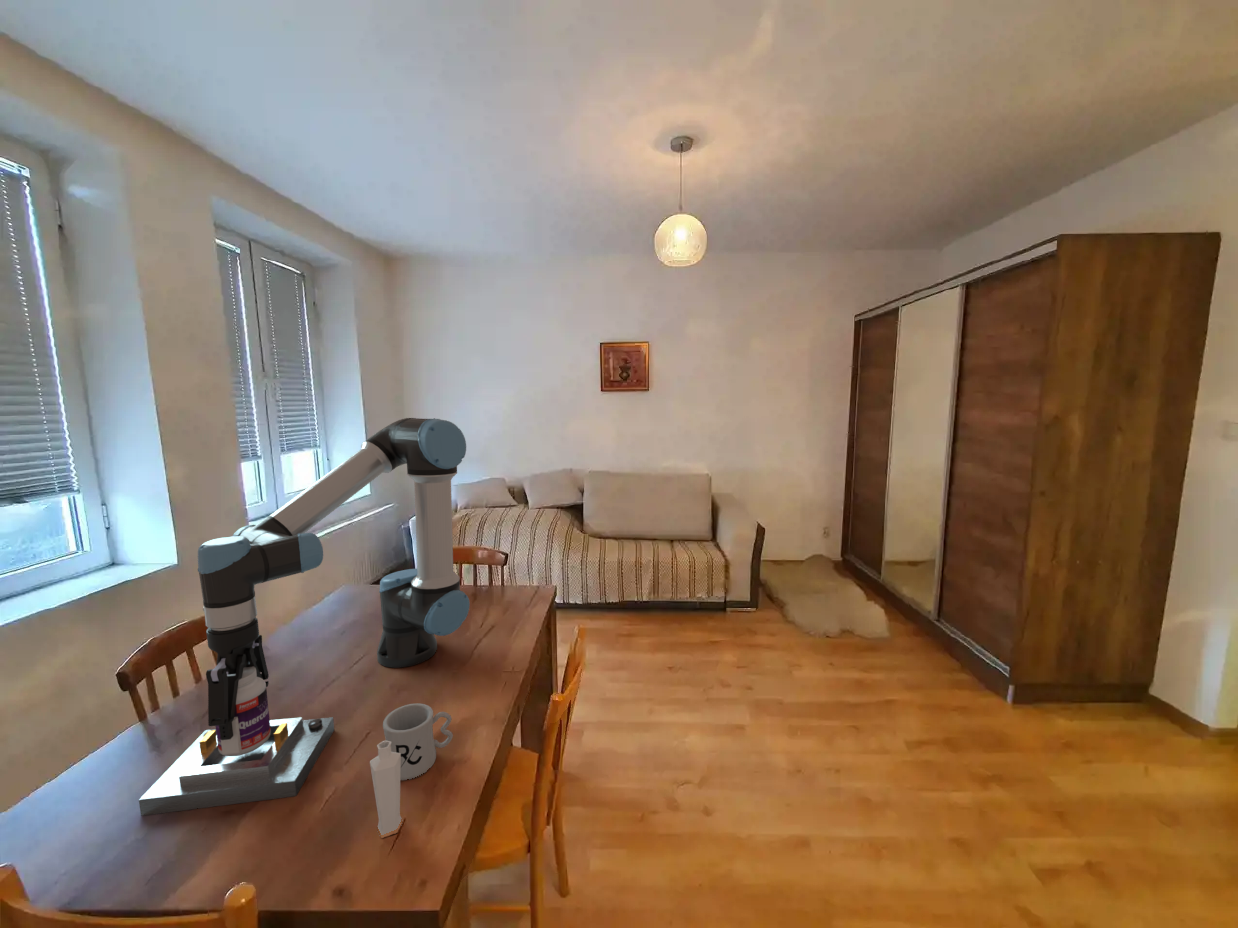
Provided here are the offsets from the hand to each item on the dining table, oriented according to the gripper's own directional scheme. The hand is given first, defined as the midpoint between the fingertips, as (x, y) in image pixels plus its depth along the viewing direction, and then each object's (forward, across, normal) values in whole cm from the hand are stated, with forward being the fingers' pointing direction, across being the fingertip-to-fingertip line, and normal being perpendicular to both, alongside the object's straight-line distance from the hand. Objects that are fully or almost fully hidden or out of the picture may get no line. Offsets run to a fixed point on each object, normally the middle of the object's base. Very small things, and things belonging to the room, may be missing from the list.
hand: (245, 735), depth 95 cm
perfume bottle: (+7, +19, +30) cm, 36 cm away
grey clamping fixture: (+7, 0, 0) cm, 7 cm away
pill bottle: (+2, 0, 0) cm, 2 cm away
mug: (+7, +4, +32) cm, 33 cm away
